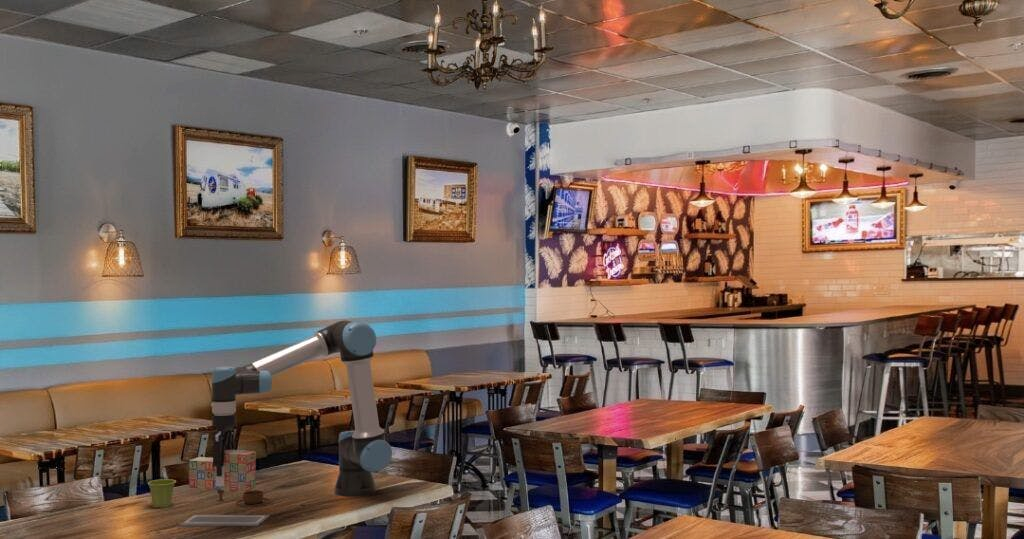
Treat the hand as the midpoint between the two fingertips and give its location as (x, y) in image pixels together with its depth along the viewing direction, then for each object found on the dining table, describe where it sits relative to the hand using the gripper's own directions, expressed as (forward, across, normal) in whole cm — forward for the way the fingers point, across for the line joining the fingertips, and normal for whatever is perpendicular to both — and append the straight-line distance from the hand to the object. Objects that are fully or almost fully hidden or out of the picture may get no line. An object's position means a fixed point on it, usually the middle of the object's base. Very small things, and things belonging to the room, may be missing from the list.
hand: (224, 483), depth 322 cm
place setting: (+14, -28, -2) cm, 32 cm away
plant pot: (+13, -23, -31) cm, 41 cm away
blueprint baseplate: (+13, 0, 0) cm, 13 cm away
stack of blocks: (+2, 0, -1) cm, 2 cm away
